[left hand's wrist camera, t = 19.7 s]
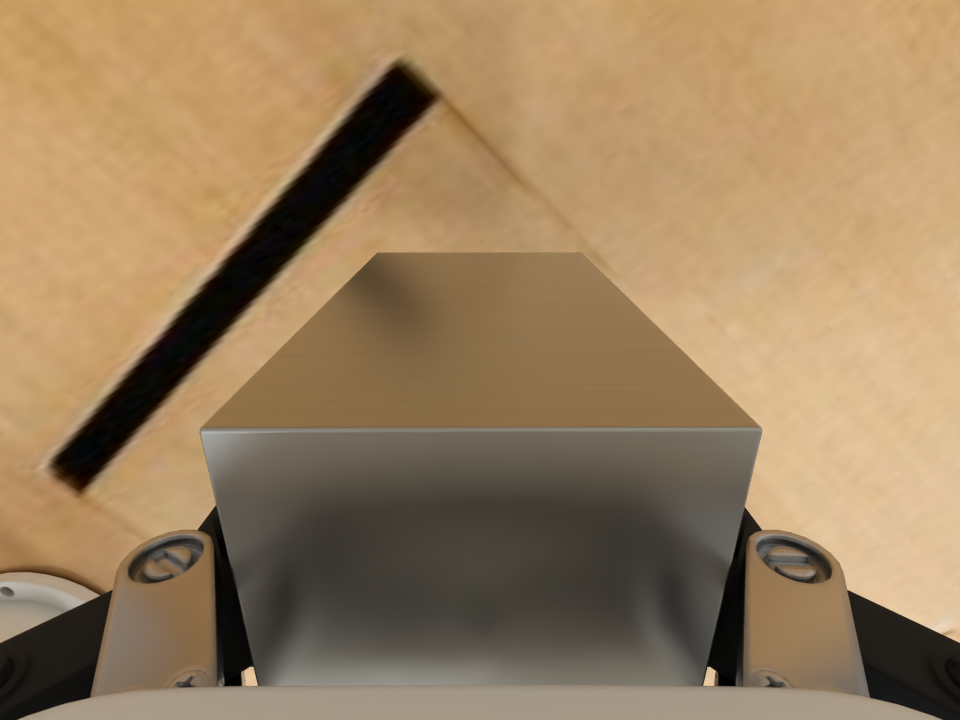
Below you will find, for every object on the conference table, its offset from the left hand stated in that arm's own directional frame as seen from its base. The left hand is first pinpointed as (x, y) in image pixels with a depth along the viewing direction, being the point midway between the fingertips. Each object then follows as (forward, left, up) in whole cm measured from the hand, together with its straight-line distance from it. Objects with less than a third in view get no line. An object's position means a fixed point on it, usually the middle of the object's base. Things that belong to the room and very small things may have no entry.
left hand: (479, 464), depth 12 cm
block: (0, 0, -7) cm, 7 cm away
